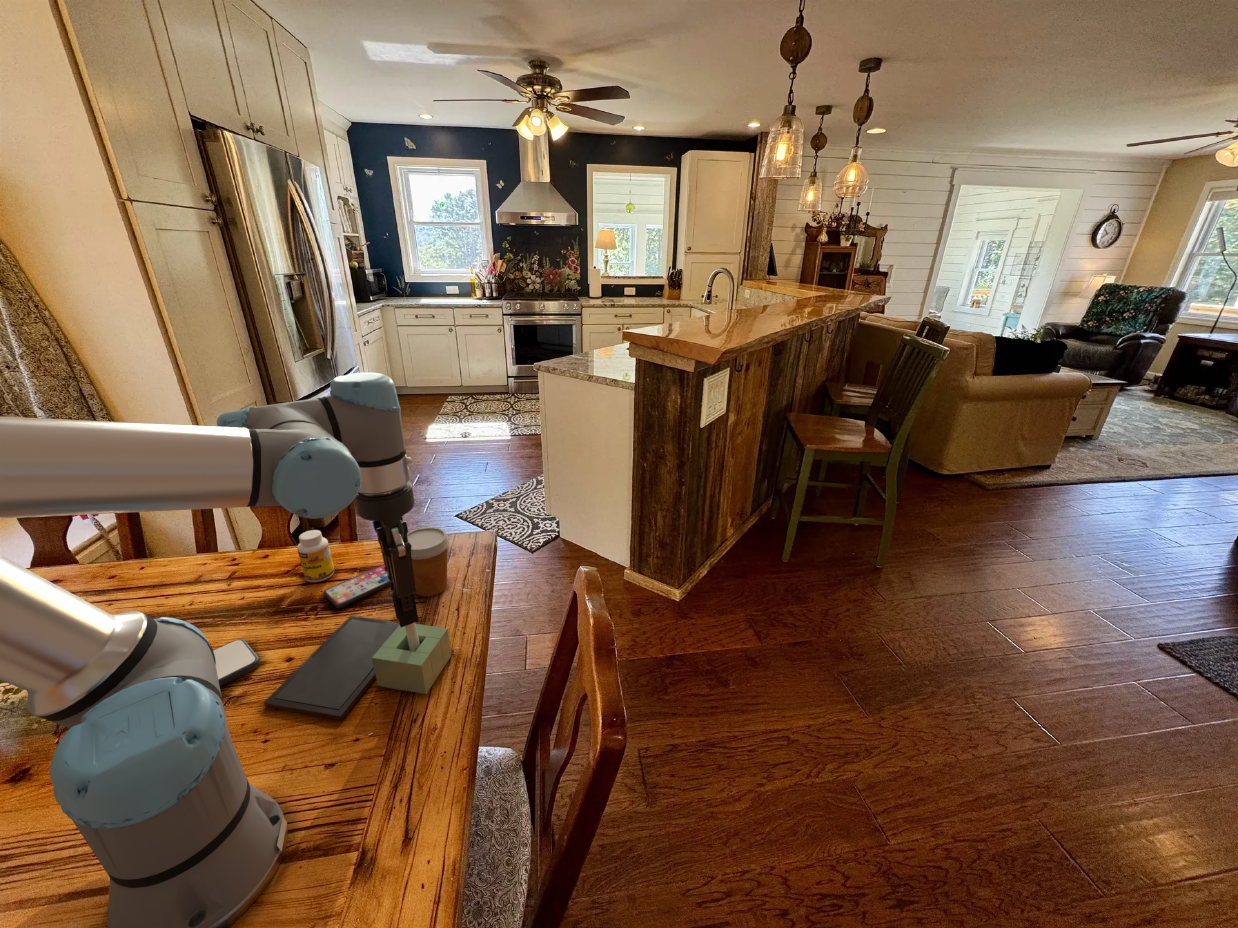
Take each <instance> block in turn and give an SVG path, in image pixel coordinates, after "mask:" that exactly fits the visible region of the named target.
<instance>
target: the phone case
mask: <svg viewBox="0 0 1238 928" xmlns="http://www.w3.org/2000/svg"><path fill="white" fill-rule="evenodd" d="M213 651H214V654H215V659H216V670H217V675H218V681H219V686H220V688H221V687H222V686H225V685H227V684H228V683H230V682H233V681H235V680H236V679H239V678H240V677H242V676H244V675H246V674H249V673H250V672H253V671H254V670H256V669H257V668H258V667H259V666H260V665H261V659H260V657H259V655H258V654H257V653H256V651H254V649H253V648H252V647H251V645H250V644H249V643H248V642H247V641H246V640H245V639H244V638H239V639H235V640H233V641H230V642H228V643H226V644H224V645H222V646H219V647H217V648H215V649H213Z"/></svg>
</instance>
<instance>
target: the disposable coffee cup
mask: <svg viewBox="0 0 1238 928" xmlns="http://www.w3.org/2000/svg"><path fill="white" fill-rule="evenodd" d="M407 538H408V542H409V543H410V544H411V546H412V548H411V557H412V565H413V572H414V580H415V587H416V593H415V594H416V595H418V596H420V597H434V596H436V595H439V594H441V593H442V592H444V591H445V590H446V589H447V586H448V547H449V544H450V537H449V535H448V534H447V532H446V531H445V530H444V529H442V528H440V527H434V526H425V527H419V528H415V529H413V530H410V531H408V533H407Z"/></svg>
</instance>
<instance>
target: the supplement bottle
mask: <svg viewBox="0 0 1238 928" xmlns="http://www.w3.org/2000/svg"><path fill="white" fill-rule="evenodd" d="M298 540H299V543H298V544H297V547H296V549H297V553H298V557H299V561H300V565H301V568H302V569H301V570H302V572H303V576H304V579H305V580H306V581H307V582H309V583H319V582H323V581H326V580H328V579H330V578H331V577H332V576H333V575H334V574H335V566H334V561H333V557H332V553H331V549H330V545H329V540H328V539H327V538H326V537H323V535H322V532H321V530H318V529H311V530H306V531H305V532H302V533H301V534H299V536H298Z"/></svg>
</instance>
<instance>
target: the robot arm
mask: <svg viewBox="0 0 1238 928" xmlns="http://www.w3.org/2000/svg"><path fill="white" fill-rule="evenodd" d="M329 385H330V390H329V395H324V396H322V397H315V398H309V399H302V400H295V401H287V402H281V403H274V404H267V405H261V406H254V405H250V406H247V407H246V408H242V409H236V410H232V411H227V412H223V413H221V414H219V416H218V417H217V419H216V426H211V425H210V426H209V425H189V424H167V423H149V422H148V423H147V422H126V421H105V420H85V419H84V420H82V419H61V418H44V417H24V416H23V417H21V416H19V417H18V416H1V415H0V520H1V519H20V518H42V517H44V518H45V517H62V516H63V517H64V516H84V515H105V514H126V513H129V514H130V513H148V512H169V511H170V512H171V511H190V510H191V511H192V510H211V509H212V510H213V509H232V508H233V509H235V508H253V507H254V508H255V507H256V508H257V507H258V508H259V507H261V508H262V507H282V508H284V510H285V511H287V512H289V513H291V514H293V515H295V516H298V517H301V518H305V519H310V520H311V519H313V520H314V519H315V520H316V519H325V518H328V517H332V516H334V515H336V514H338V513H340V512H341V511H344V510H345V509H347V508H348V507H349V506H350V505H351V504H352V503H353V501H354V504H355V509H356V513H357V515H358V516H359V518H361V519H363V520H366V521H370V522H372V526H373V529H374V531H375V533H376V539H377V542H378V545H379V547H380V552H381V556H382V561H383V564H384V565H385V567H384V569H385V571H386V572H388V579H389V580H390V581H392V580H393V582H392V583H390V585H389V586H390V588H389V589H390V590H389V591H388V593H389V596H390V598H392V603H393V607H394V614H395V617H396V619H397V620H398V623H399V624H400V627H404V626H407V625H409V624H412V623H415V624H416V623H417V622H419V621H420V619H419V614H418V608H417V603H416V597H415V594H417V593H416V587H415V580H414V572H413V565H412V557H411V548H412V546H411V544H410V543H409V542H408V538H407V533H408V532H409V529H408V524H407V520H404V519H403V518H404V516H405V515H406V514H408V513H410V511H412V510H413V509H414V507H415V496H414V495H415V494H414V489H413V484H412V482H411V481H410V480H411V473H410V468H409V465H410V464H412V463H413V459H412V457H410V456H407V448H406V442H405V436H404V435H405V434H404V428H403V420H402V413H401V411H402V408H401V407H402V406H400V401H399V398H398V393H397V388H396V385H395V382H394V380H393V379H392V378H391V377H390V376H388V375H386V374H384V373H379V372H354V373H347V374H345V375H340V376H336V377H334V378H332V379H331V381H330V384H329ZM213 648H214V647H213V646H212V644H210V642H209V640H208V638H207V637H206V636H205V634H204V633H203V632H202V631H201V630H200V629H199V628H198V627H197V626H195V625H193V624H192V623H190V622H188V621H185V620H182V619H179V618H175V617H169V616H160V617H159V618H152V617H151V616H149V615H147V614H145V613H144V612H141V611H139V610H129V611H123V612H119V613H113V614H111V613H109V612H107V611H105V610H103V609H102V608H100V607H99V606H96V605H94V604H92V603H90V602H89V601H87V600H85V599H83V598H81V597H79V596H78V595H75V594H74V593H72V592H70V591H68V590H66V589H64V588H63V587H61V586H59V585H57V584H55V583H54V582H51V581H49V580H47V579H46V578H44V577H42V576H40V575H38V574H36V573H35V572H33V571H31V570H29V569H28V568H26V567H24V566H22V565H20V564H19V563H16V562H15V561H13V560H11V559H9V558H7V557H5V556H4V555H1V554H0V681H1V682H3V683H7V684H8V685H11V686H14V687H17V688H19V689H22V690H24V691H26V692H27V703H26V705H27V707H26V708H27V711H28V712H29V713H30V714H31V715H33V716H36V717H38V718H41V719H43V720H46V721H48V722H51V723H54V724H56V725H59V726H62V727H65V728H67V729H68V730H67V731H66V732H65V734H64V735H63V736H62V738H61V739H60V741H59V743H58V744H57V746H56V748H55V750H54V752H53V755H52V758H51V761H50V767H49V777H50V782H51V786H52V787H53V788H52V789H53V795H54V798H55V801H56V802H57V803H58V805H59V806H60V809H61V812H62V813H63V814H65V815H66V816H67V817H68V818H69V819H71V820H72V822H73V823H74V825H75V827H76V828H77V830H78V832H79V833H80V834H81V836H82V838H83V839H84V840H85V842H86V843H87V845H88V847H89V848H90V850H91V851H92V853H93V854H94V855H95V857H96V859H97V860H98V862H99V863H100V864H101V866H102V868H103V870H104V871H105V872H106V874H107V876H108V878H109V885H108V886H109V887H108V907H107V914H106V915H107V927H108V928H228V927H229V926H231V925H232V924H233V923H234V922H235V921H236V920H237V919H238V918H240V917H241V916H242V915H243V914H244V913H245V912H246V911H247V910H248V909H249V908H250V907H251V906H252V905H253V904H254V903H255V902H256V901H257V899H259V897H260V896H261V895H262V893H263V892H264V890H265V889H266V888H267V887H268V885H269V884H270V882H271V881H272V879H273V877H274V876H275V874H276V873H277V872H278V868H280V865H281V863H282V861H283V857H284V855H285V852H286V850H287V845H288V840H289V827H288V826H289V825H288V821H287V819H286V817H285V813H284V811H283V809H282V806H280V804H279V803H278V802H277V801H276V800H275V799H274V798H273V797H271V796H270V795H269V794H267V793H265V792H264V791H262V790H260V788H258V787H256V786H254V785H253V784H251V783H250V782H249V780H248V778H247V775H246V773H245V769H244V768H243V765H242V762H241V760H240V758H239V755H238V753H237V750H236V748H235V745H234V742H233V739H232V736H231V732H230V728H229V724H228V719H227V714H226V710H225V706H224V703H223V695H222V692H221V691H222V690H221V687H220V686H219V681H218V675H217V670H216V659H215V654H214V651H213V650H214V649H213Z"/></svg>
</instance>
